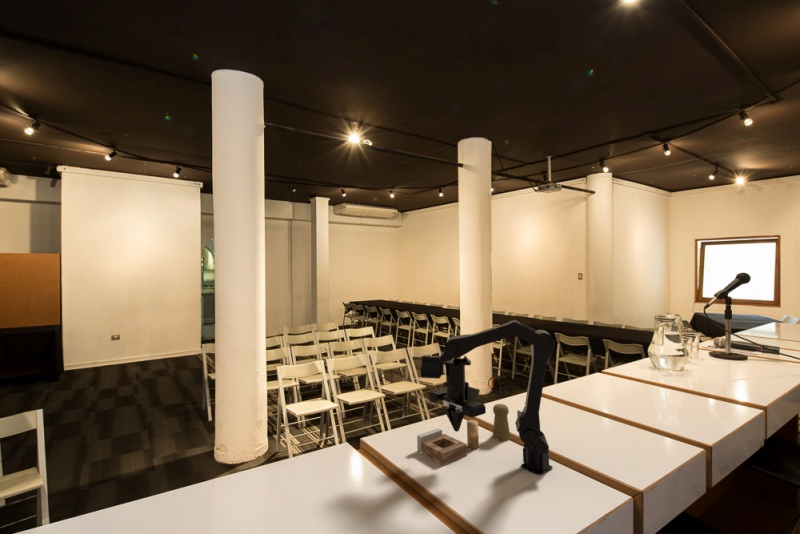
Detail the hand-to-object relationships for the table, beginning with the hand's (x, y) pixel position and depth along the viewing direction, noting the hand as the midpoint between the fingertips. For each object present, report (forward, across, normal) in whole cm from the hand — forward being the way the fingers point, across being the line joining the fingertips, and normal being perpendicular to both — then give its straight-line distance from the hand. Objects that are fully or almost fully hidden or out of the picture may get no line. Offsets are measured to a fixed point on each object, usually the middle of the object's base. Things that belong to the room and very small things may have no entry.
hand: (456, 431), depth 118 cm
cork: (+9, +3, -24) cm, 26 cm away
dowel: (+9, +4, -11) cm, 15 cm away
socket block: (+9, +6, 0) cm, 11 cm away
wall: (+9, +12, 0) cm, 15 cm away
